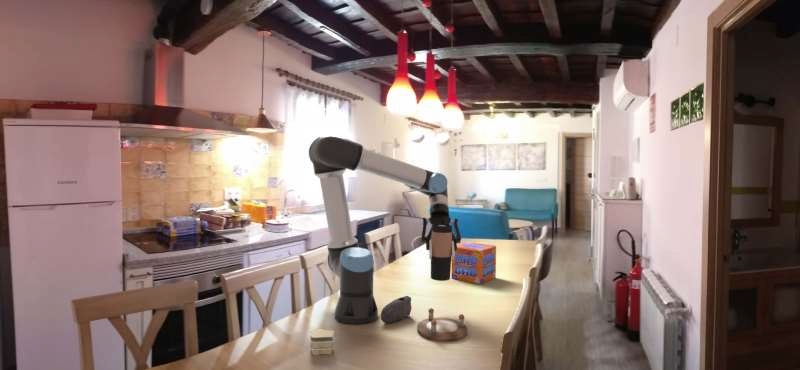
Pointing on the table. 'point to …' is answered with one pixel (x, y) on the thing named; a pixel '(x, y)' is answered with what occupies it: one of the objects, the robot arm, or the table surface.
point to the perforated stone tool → (396, 310)
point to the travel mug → (441, 251)
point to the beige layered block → (321, 341)
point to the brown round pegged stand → (442, 328)
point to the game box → (474, 262)
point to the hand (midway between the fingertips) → (442, 257)
